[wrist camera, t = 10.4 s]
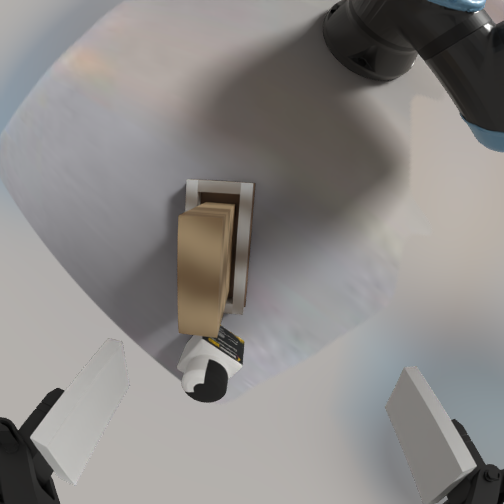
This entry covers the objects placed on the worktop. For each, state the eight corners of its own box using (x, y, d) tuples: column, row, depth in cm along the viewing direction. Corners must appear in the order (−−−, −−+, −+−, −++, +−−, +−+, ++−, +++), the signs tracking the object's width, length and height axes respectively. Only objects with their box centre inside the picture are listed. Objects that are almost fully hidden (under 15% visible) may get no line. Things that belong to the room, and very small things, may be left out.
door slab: (206, 201, 38) (178, 215, 25) (235, 203, 38) (222, 218, 25) (202, 284, 42) (178, 333, 28) (229, 287, 42) (217, 337, 28)
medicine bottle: (245, 340, 45) (241, 389, 33) (219, 366, 46) (210, 415, 35) (209, 315, 44) (194, 360, 32) (185, 343, 45) (166, 389, 34)
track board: (191, 179, 39) (184, 179, 35) (255, 183, 39) (255, 183, 35) (187, 298, 43) (181, 308, 40) (245, 304, 43) (244, 314, 40)
